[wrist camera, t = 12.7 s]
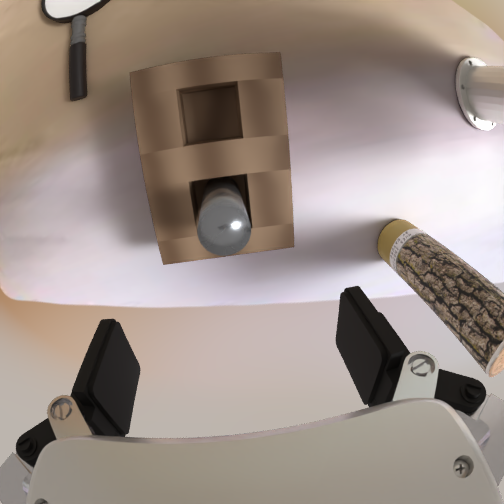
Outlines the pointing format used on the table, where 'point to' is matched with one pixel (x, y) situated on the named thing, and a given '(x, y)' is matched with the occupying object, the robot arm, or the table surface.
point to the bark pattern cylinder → (449, 290)
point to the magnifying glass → (74, 37)
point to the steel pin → (223, 218)
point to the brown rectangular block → (214, 147)
